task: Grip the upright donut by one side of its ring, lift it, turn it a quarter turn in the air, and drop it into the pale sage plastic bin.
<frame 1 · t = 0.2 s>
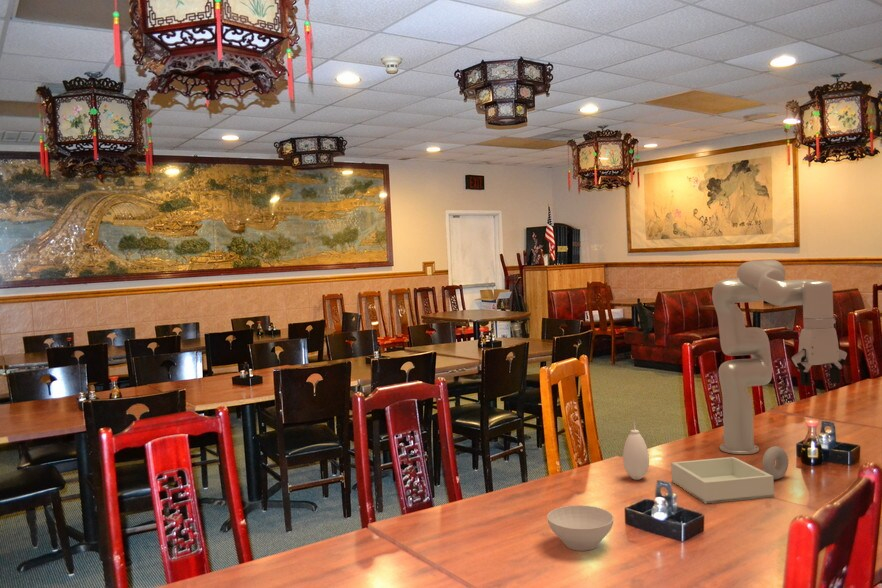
hand: (820, 384, 199), 31 cm above the table, tool pointing down, fingers open, 9 cm apart
sauce bottle: (636, 479, 219), on the table
donut: (775, 479, 212), on the table
bowl: (581, 545, 171), on the table
bin: (720, 489, 206), on the table
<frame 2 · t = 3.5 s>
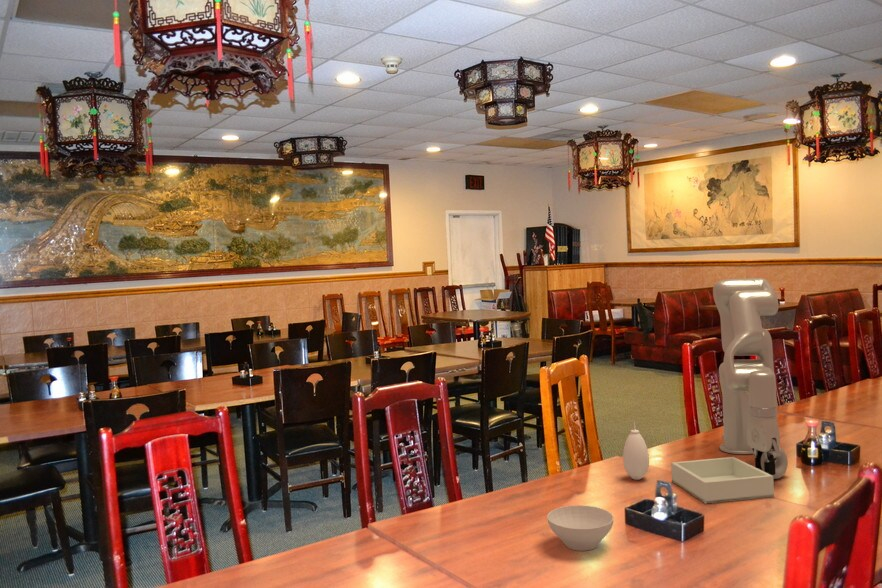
hand: (765, 472, 211), 3 cm above the table, tool pointing down, fingers closed on donut, 4 cm apart
donut: (775, 479, 212), on the table, touching gripper
everything else where it was.
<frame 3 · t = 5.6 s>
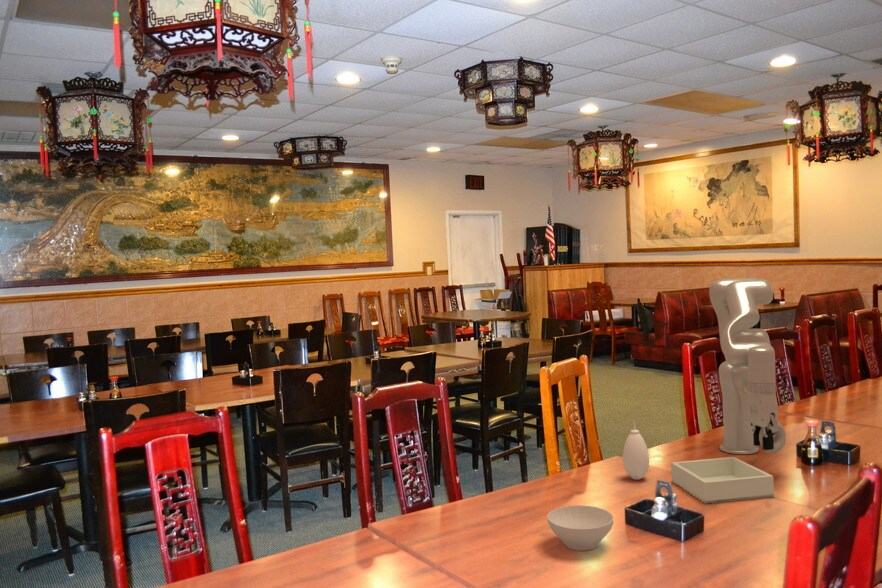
hand: (763, 446, 212), 10 cm above the table, tool pointing down, fingers closed on donut, 4 cm apart
donut: (773, 453, 213), point 7 cm above the table, touching gripper
everything else where it was.
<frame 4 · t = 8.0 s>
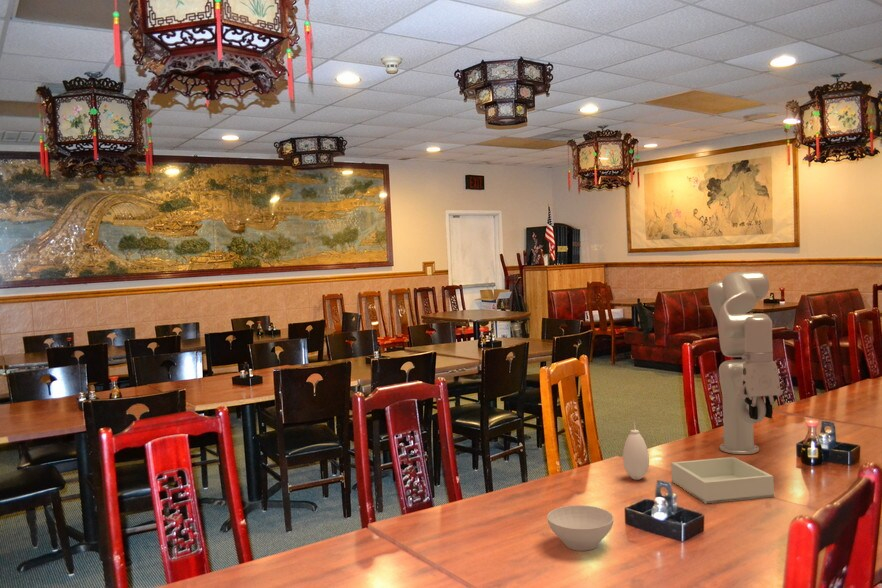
hand: (760, 417, 210), 19 cm above the table, tool pointing down, fingers closed on donut, 3 cm apart
donut: (751, 423, 214), point 16 cm above the table, touching gripper
everything else where it was.
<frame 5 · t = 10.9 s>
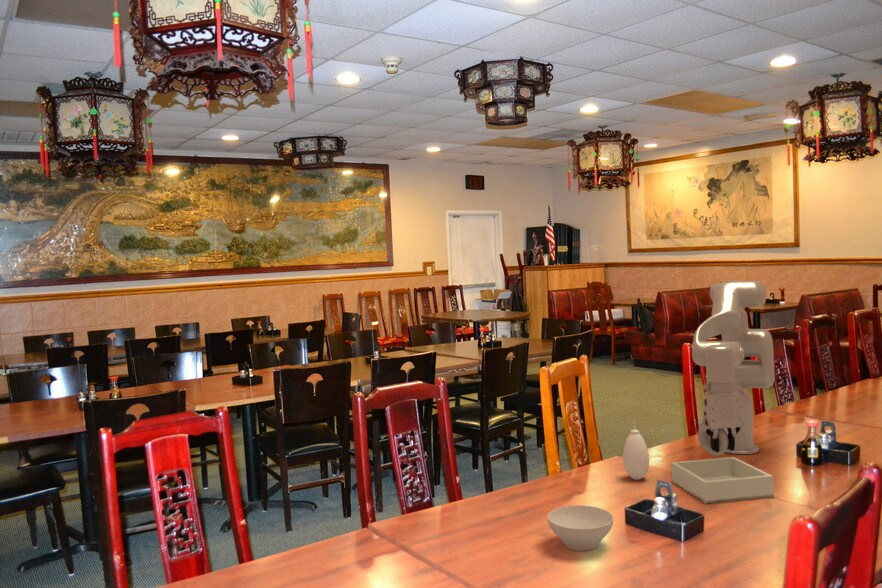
hand: (722, 449, 203), 12 cm above the table, tool pointing down, fingers closed on donut, 4 cm apart
donut: (714, 455, 207), point 10 cm above the table, touching gripper
everything else where it was.
when the fingers open (6 cm above the table, at t = 12.4 s): donut drops 2 cm, resting on bin.
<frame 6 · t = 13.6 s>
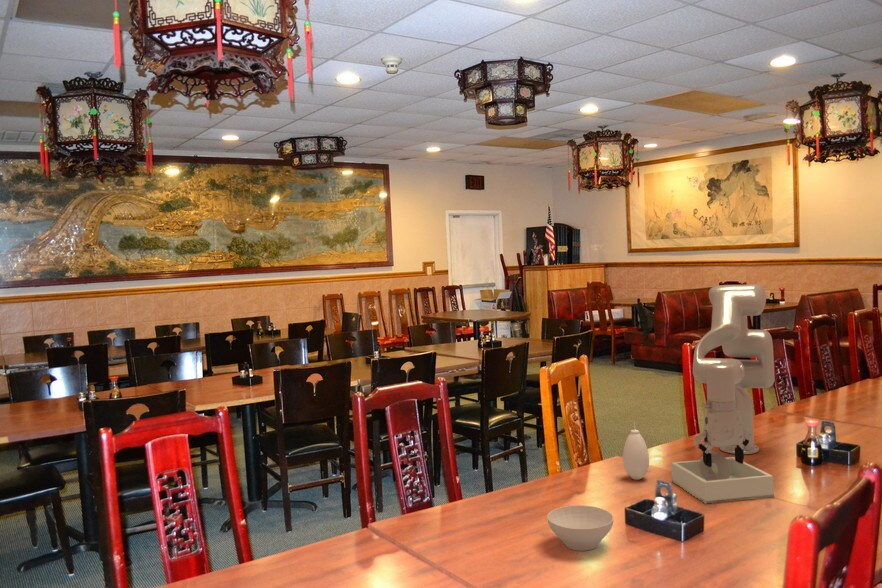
hand: (723, 464, 204), 8 cm above the table, tool pointing down, fingers open, 9 cm apart
donut: (714, 485, 207), point 1 cm above the table, touching bin
everything else where it was.
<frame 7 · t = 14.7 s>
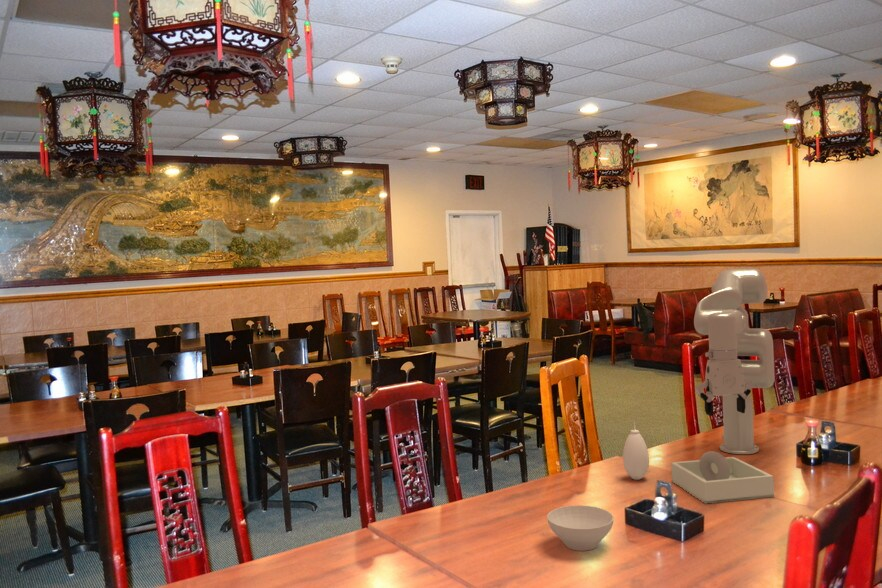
hand: (725, 413, 204), 23 cm above the table, tool pointing down, fingers open, 9 cm apart
nothing on the table moved.
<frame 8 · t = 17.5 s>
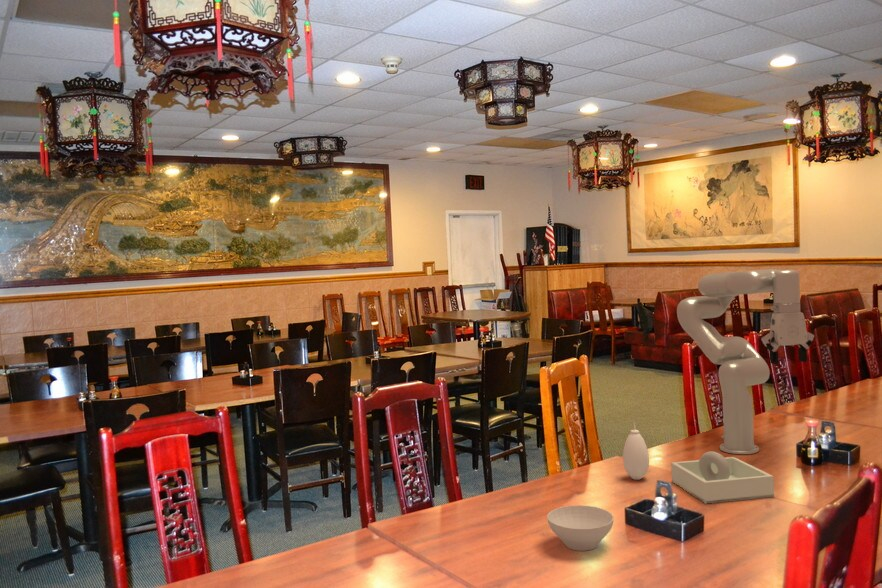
hand: (788, 362, 222), 33 cm above the table, tool pointing down, fingers open, 9 cm apart
nothing on the table moved.
at the end: donut inside the target area on the bin (2.0 cm from its centre), point 0.6 cm above the bin's base; the gripper is holding nothing; sauce bottle moved 0.2 cm from its start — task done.
